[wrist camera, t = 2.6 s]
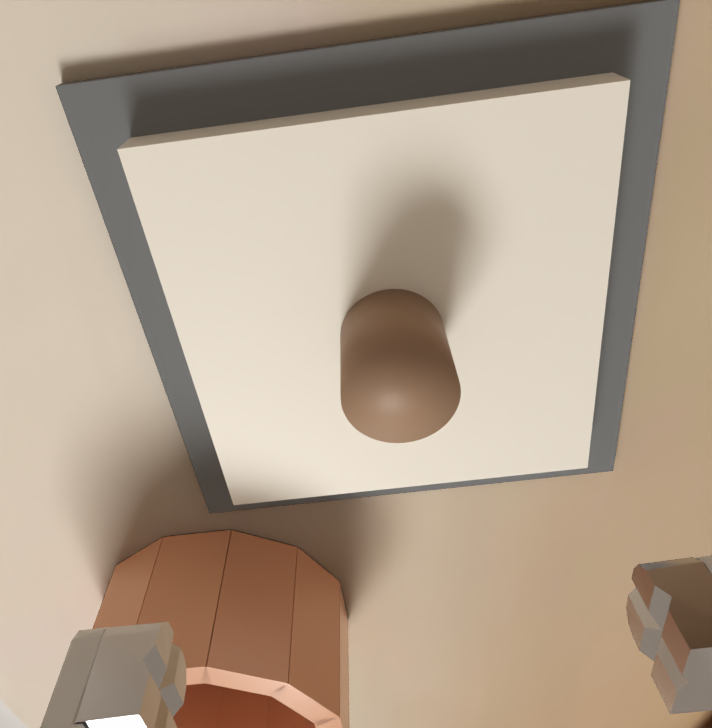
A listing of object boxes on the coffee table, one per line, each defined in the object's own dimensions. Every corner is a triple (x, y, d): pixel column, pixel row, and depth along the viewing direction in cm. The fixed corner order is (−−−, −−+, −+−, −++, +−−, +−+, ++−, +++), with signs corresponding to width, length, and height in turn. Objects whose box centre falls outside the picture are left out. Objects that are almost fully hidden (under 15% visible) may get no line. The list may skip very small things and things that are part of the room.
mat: (672, -3, 16) (679, -2, 15) (609, 463, 25) (613, 470, 24) (61, 83, 17) (55, 86, 16) (211, 505, 25) (209, 513, 25)
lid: (612, 72, 16) (691, 106, 13) (576, 445, 24) (620, 537, 20) (130, 137, 17) (73, 188, 13) (237, 482, 24) (219, 577, 20)
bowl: (326, 519, 26) (323, 655, 21) (358, 667, 32) (361, 800, 27) (70, 546, 27) (7, 684, 22) (148, 687, 33) (114, 820, 28)
